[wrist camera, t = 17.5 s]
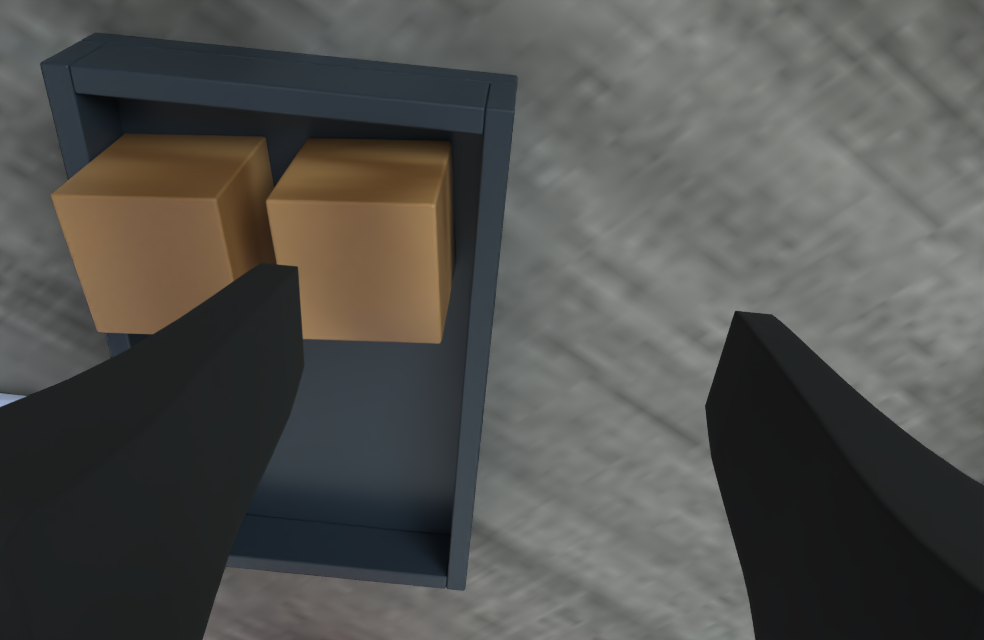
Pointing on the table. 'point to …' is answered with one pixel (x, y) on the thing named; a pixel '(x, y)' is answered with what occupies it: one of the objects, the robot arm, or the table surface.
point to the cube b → (368, 237)
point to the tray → (334, 363)
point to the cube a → (165, 224)
